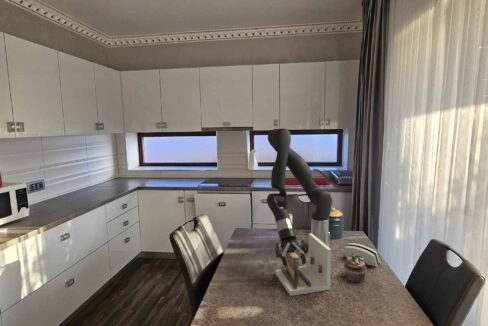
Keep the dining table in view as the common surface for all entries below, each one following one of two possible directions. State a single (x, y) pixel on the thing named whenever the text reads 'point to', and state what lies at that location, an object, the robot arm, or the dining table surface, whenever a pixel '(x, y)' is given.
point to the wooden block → (292, 264)
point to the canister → (336, 224)
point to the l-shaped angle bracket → (310, 270)
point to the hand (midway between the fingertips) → (295, 264)
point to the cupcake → (355, 268)
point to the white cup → (290, 217)
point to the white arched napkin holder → (362, 253)
